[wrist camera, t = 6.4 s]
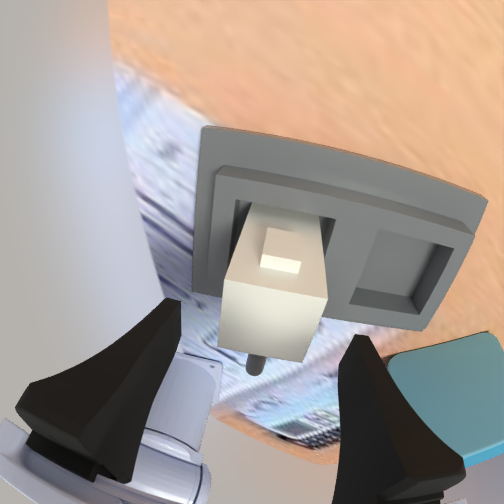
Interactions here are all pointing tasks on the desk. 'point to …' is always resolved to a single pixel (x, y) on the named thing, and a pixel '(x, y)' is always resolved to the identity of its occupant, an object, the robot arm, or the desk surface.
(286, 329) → the plug
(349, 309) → the jack panel
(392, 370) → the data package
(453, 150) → the desk surface
